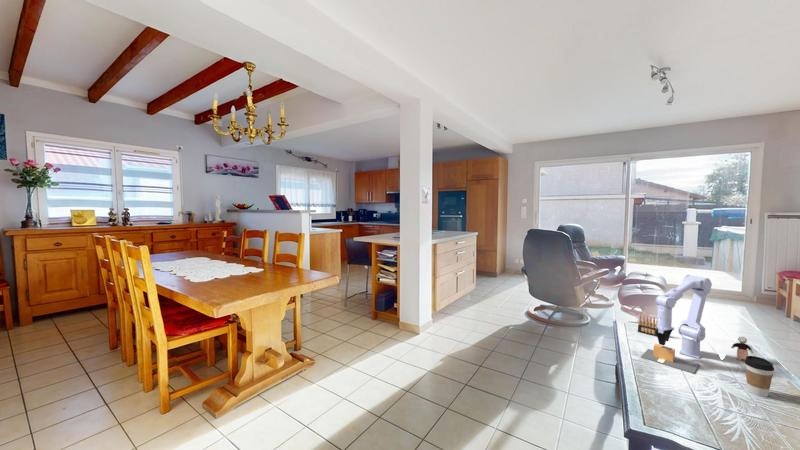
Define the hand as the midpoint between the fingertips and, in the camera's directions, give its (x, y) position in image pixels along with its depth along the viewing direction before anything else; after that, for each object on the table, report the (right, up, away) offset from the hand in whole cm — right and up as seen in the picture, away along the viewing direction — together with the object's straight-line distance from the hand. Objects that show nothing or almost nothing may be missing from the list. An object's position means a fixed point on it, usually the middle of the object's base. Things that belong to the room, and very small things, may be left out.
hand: (663, 342), depth 160 cm
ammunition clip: (+19, -8, +32) cm, 38 cm away
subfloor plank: (+2, -9, -1) cm, 10 cm away
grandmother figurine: (+41, -9, -2) cm, 42 cm away
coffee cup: (+15, -11, -29) cm, 35 cm away
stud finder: (0, -9, 0) cm, 9 cm away
